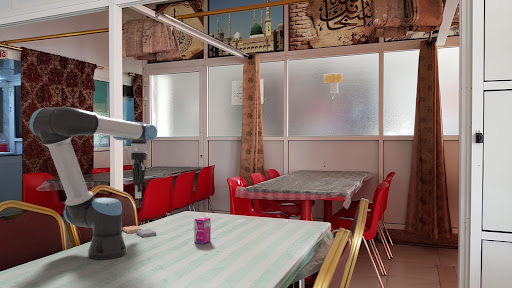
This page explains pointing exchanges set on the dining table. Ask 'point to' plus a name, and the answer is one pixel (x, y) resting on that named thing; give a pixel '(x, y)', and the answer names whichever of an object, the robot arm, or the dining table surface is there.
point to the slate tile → (146, 233)
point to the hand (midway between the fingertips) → (138, 198)
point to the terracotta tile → (131, 229)
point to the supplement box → (202, 230)
